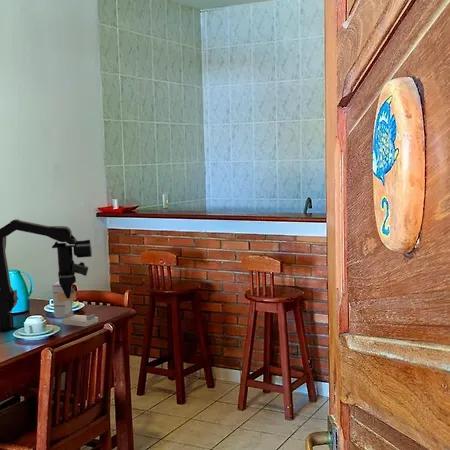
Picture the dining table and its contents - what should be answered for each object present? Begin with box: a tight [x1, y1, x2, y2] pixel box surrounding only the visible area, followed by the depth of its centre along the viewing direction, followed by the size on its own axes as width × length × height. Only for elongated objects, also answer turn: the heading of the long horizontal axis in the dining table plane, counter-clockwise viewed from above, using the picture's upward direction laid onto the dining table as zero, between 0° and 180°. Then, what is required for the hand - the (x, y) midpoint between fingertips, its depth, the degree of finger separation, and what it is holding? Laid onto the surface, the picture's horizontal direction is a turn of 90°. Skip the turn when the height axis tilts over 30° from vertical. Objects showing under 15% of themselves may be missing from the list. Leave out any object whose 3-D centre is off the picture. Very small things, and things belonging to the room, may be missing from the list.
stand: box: [61, 311, 99, 327], centre depth 252 cm, size 8×12×4 cm, turn 63°
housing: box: [57, 288, 77, 302], centre depth 248 cm, size 7×4×4 cm, turn 106°
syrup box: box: [51, 281, 73, 319], centre depth 265 cm, size 6×6×14 cm
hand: (68, 297), depth 248 cm, fingers closed on housing, 4 cm apart
